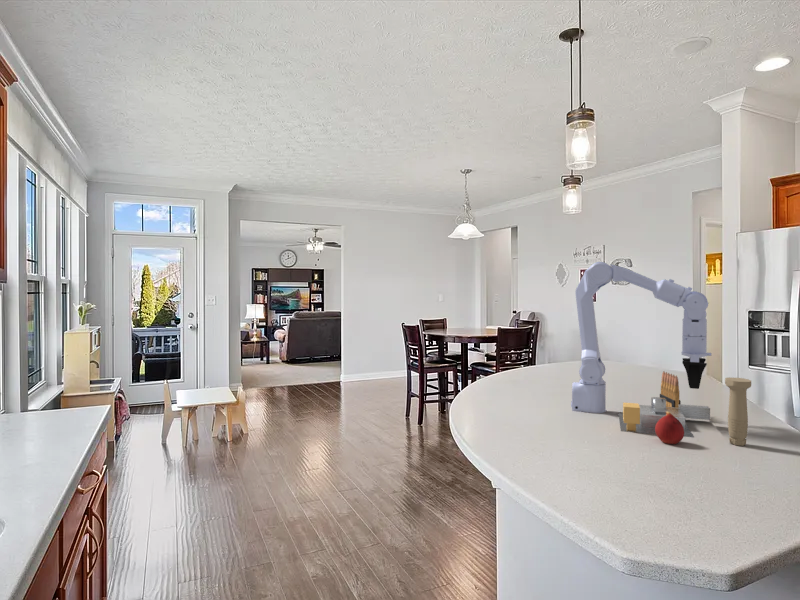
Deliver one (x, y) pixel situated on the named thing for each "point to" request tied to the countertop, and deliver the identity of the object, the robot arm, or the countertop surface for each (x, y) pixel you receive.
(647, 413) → the grey stepped platform
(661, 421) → the onion
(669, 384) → the ammunition clip
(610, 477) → the countertop surface
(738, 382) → the handle
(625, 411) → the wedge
